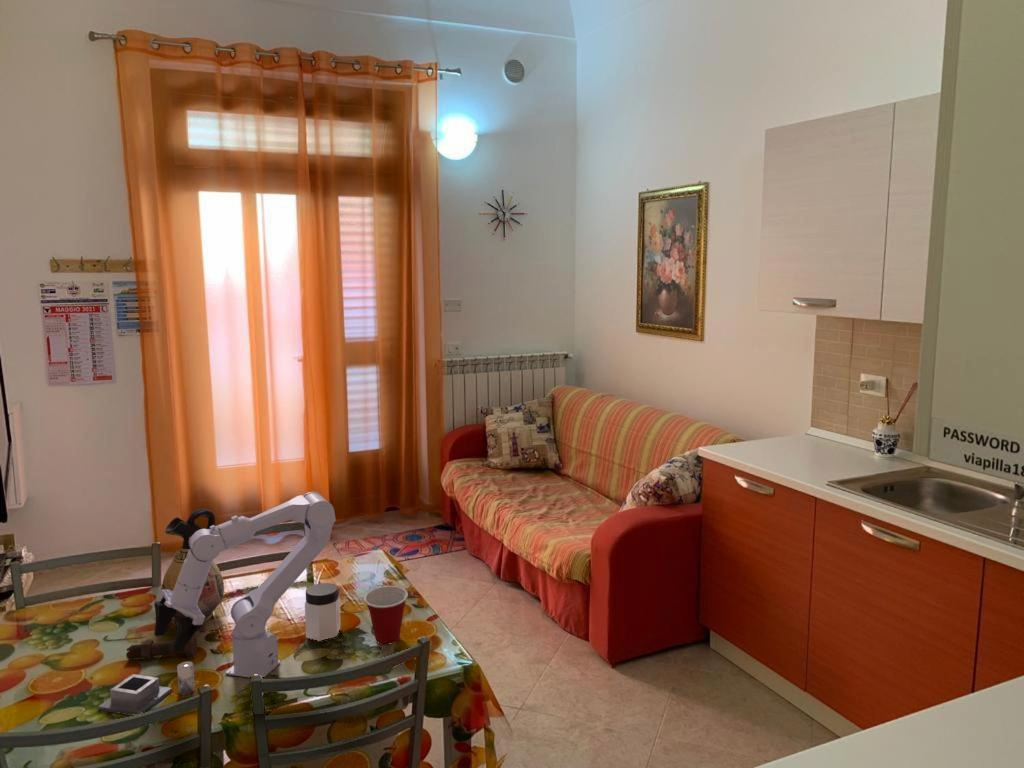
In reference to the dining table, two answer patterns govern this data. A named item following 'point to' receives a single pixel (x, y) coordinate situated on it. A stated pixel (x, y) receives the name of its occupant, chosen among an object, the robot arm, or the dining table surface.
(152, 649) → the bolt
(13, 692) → the dining table surface
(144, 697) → the square socket base plate
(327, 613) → the jar
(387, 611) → the plastic cup
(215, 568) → the ceramic jug
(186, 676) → the pale grey cylinder
